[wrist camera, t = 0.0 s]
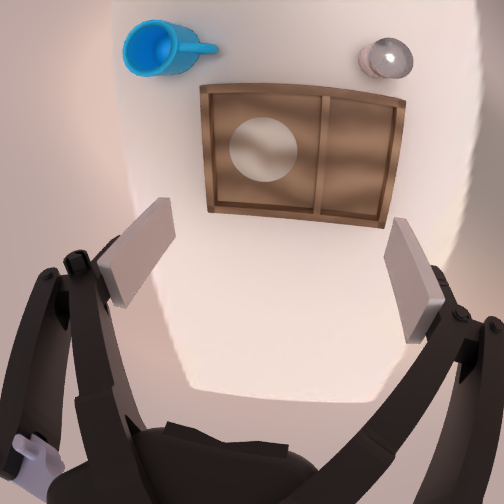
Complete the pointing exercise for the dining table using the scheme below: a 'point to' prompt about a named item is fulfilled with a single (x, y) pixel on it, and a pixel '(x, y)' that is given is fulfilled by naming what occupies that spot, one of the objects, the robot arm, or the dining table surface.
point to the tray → (300, 152)
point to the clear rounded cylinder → (386, 59)
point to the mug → (162, 49)
